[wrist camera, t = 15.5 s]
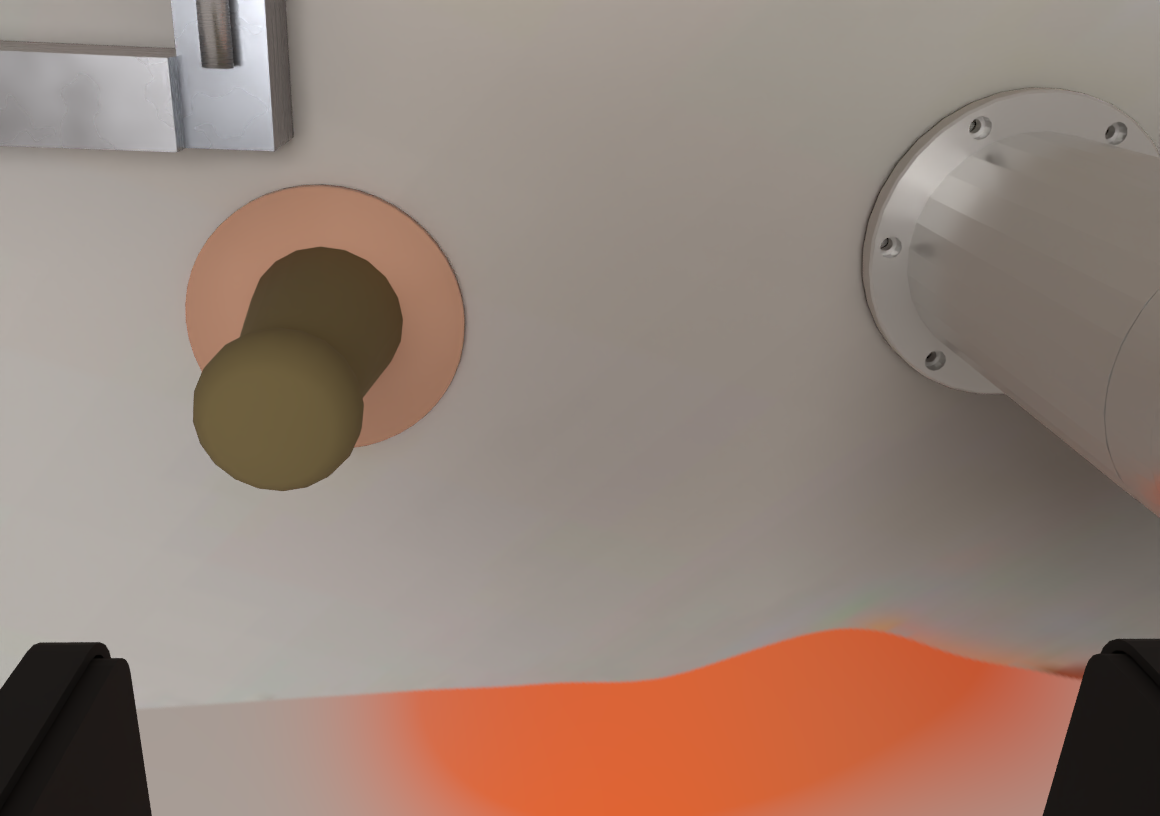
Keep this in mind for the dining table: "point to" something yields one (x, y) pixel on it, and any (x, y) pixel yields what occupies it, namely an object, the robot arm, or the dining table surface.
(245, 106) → the grey metal u-shaped block
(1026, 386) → the robot arm
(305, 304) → the cork
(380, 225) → the coaster
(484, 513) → the dining table surface
